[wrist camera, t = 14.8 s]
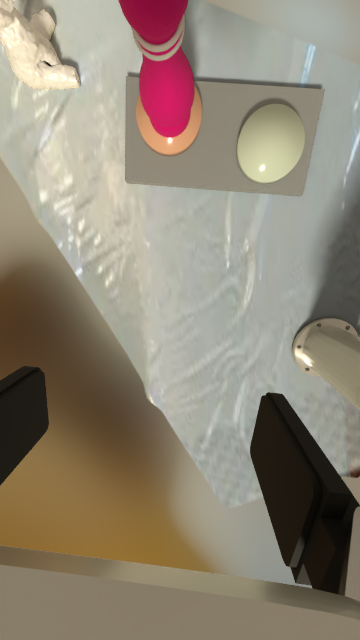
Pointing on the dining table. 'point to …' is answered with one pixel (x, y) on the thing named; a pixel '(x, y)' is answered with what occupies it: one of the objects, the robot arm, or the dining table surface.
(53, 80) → the sitting furry creature
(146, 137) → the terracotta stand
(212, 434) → the dining table surface
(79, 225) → the dining table surface
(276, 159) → the pale green domed disc
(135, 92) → the board
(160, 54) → the pepper mill
